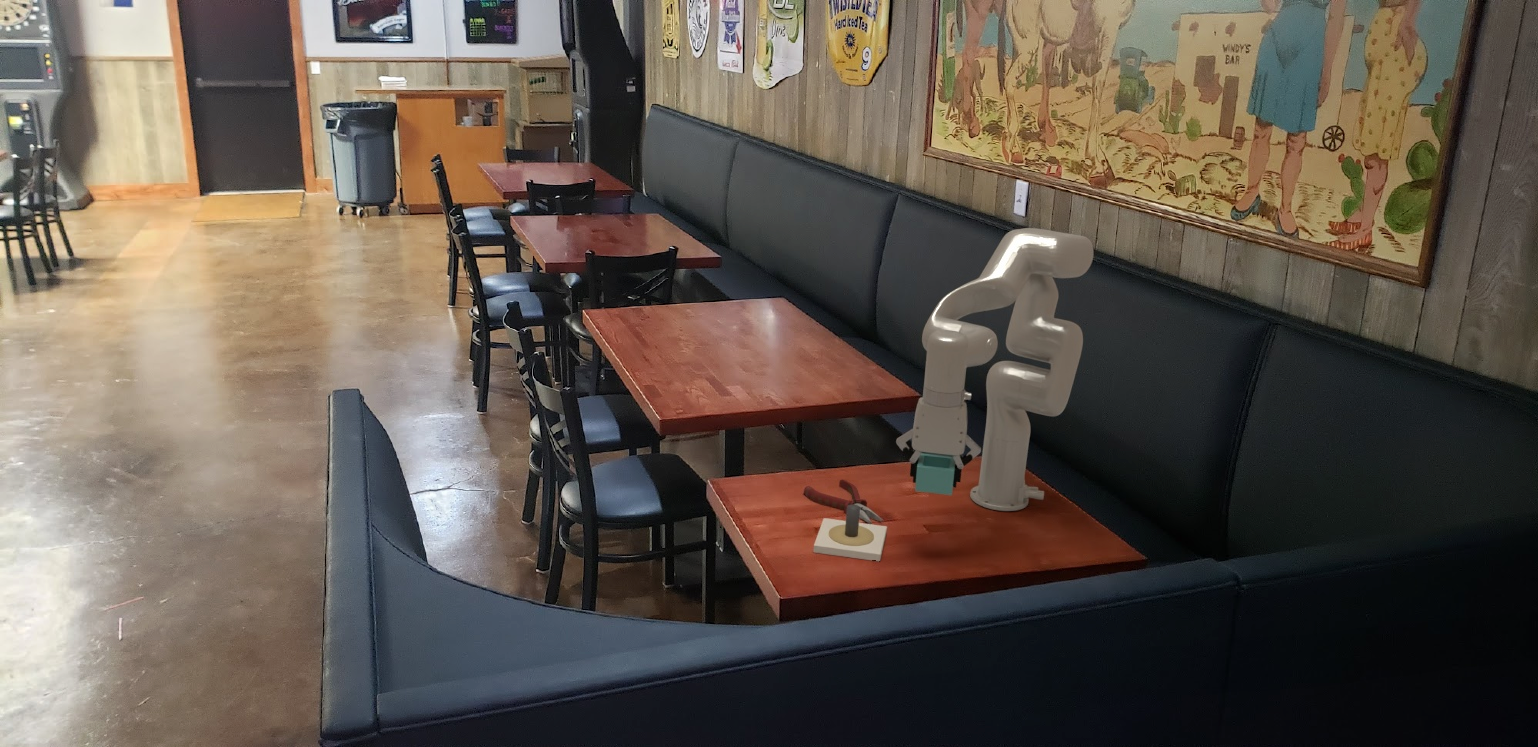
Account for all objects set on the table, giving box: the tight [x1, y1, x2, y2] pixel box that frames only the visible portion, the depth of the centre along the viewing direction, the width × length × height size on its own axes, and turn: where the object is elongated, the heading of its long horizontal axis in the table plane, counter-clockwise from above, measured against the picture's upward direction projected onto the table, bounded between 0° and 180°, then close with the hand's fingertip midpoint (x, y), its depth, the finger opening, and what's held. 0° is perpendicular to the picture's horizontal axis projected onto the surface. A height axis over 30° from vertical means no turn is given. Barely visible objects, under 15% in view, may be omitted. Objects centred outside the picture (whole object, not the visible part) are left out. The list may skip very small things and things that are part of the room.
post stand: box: [812, 504, 888, 562], centre depth 225 cm, size 13×13×8 cm
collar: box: [914, 452, 956, 496], centre depth 219 cm, size 7×7×5 cm
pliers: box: [803, 479, 884, 525], centre depth 242 cm, size 12×20×3 cm, turn 31°
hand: (934, 481), depth 219 cm, fingers closed on collar, 7 cm apart
